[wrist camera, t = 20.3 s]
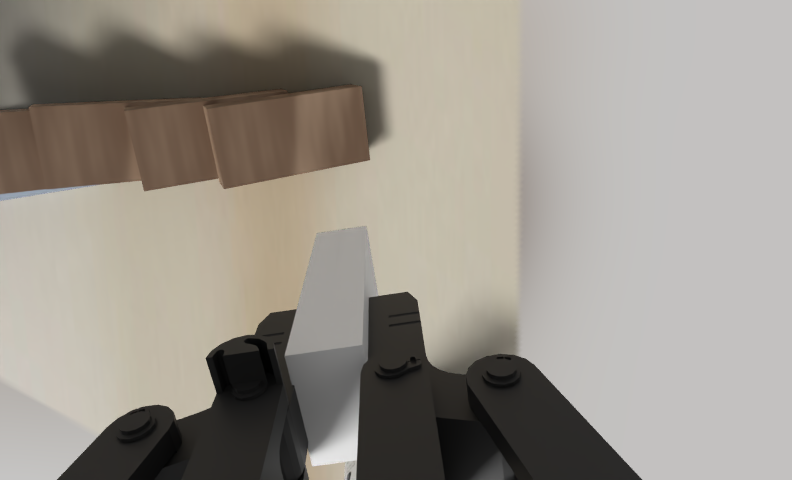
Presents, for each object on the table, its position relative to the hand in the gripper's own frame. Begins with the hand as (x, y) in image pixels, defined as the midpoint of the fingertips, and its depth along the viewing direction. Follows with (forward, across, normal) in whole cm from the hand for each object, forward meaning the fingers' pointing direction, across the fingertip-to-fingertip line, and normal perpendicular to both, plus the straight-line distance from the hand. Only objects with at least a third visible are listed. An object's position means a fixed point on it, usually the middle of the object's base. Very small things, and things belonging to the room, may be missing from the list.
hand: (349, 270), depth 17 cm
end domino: (+24, 0, 0) cm, 24 cm away
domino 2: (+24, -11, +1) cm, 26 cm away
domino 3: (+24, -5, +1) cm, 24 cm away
